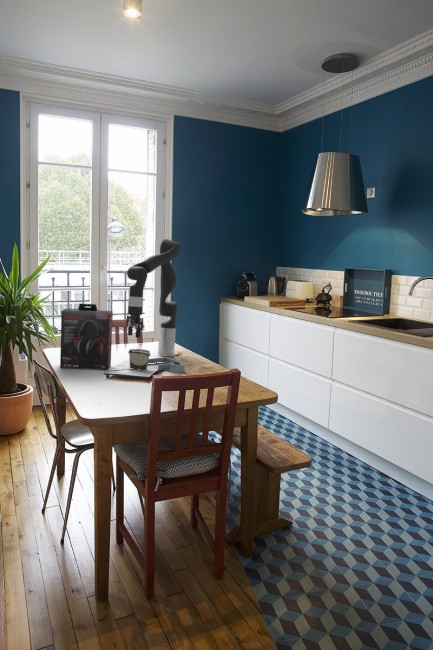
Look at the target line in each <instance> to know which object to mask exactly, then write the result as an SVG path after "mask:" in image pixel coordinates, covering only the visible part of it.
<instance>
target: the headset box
mask: <svg viewBox="0 0 433 650" xmlns="http://www.w3.org/2000/svg"><path fill="white" fill-rule="evenodd" d="M113 317H114V315H113V310H98V307H97V304H96V303H95V304H94V303H79V305H78V308H64V309H62V310H61V316H60V318H61V321H60V354H59V355H60V359H59V362H60V363H59V368H61V369H79V370H80V369H81V370H101V371H102V370H103V371H107V370H109V368H110V367H111V366H112V365H111V364H112V345H113V344H112V343H113V342H112V340H113V339H112V338H113Z"/></svg>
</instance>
